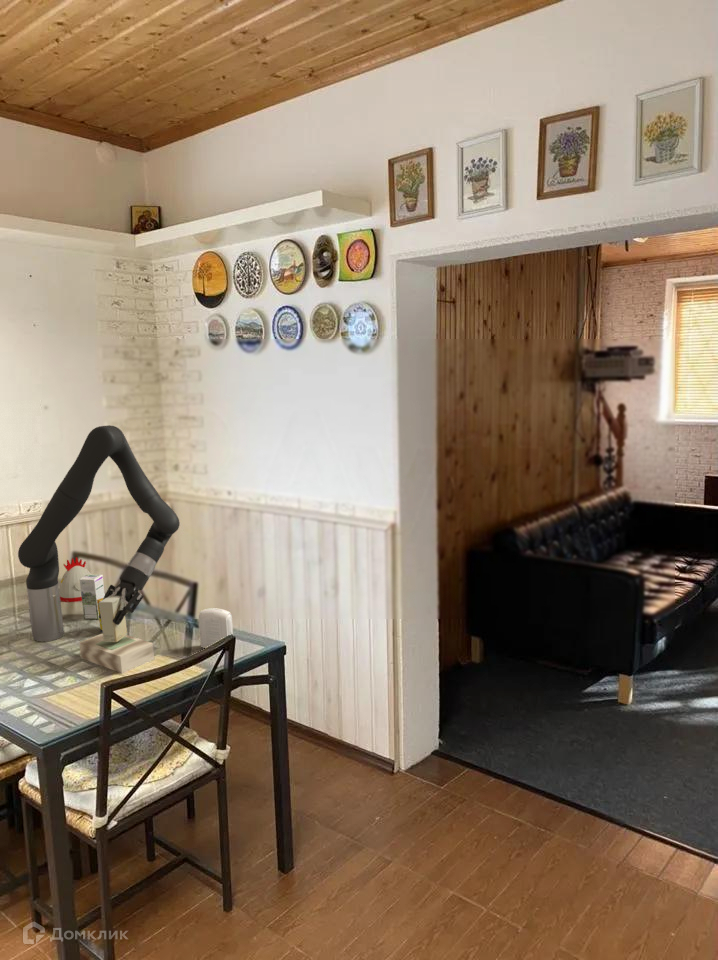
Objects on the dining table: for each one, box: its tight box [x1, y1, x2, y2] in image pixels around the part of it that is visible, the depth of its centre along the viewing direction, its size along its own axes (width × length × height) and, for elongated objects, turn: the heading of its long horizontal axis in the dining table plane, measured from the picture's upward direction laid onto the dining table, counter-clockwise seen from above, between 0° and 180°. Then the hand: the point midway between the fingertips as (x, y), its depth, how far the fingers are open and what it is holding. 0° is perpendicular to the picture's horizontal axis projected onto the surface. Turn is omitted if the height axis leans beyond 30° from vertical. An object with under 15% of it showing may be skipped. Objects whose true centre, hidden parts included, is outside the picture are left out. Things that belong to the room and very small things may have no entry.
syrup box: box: [80, 574, 106, 620], centre depth 248 cm, size 6×6×14 cm
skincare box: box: [99, 596, 128, 642], centre depth 210 cm, size 6×4×12 cm
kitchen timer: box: [59, 556, 92, 603], centre depth 271 cm, size 14×14×15 cm
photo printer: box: [198, 607, 234, 649], centre depth 216 cm, size 10×4×12 cm, turn 72°
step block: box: [78, 632, 155, 674], centre depth 212 cm, size 20×11×5 cm, turn 53°
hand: (108, 621), depth 209 cm, fingers closed on skincare box, 6 cm apart
